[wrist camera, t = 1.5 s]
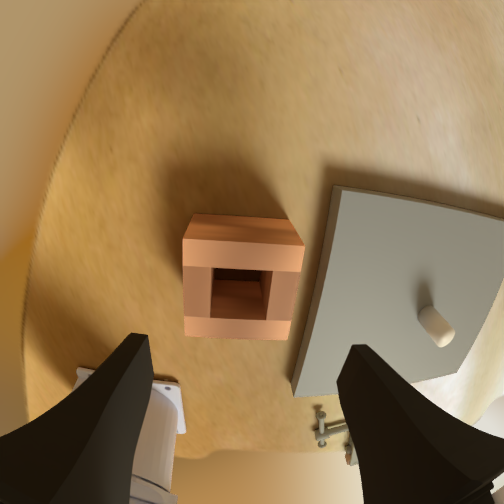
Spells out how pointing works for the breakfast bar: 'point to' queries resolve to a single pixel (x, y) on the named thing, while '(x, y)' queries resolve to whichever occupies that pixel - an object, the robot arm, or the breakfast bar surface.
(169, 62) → the breakfast bar surface
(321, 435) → the clamp
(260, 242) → the collar block
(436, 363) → the pin board
